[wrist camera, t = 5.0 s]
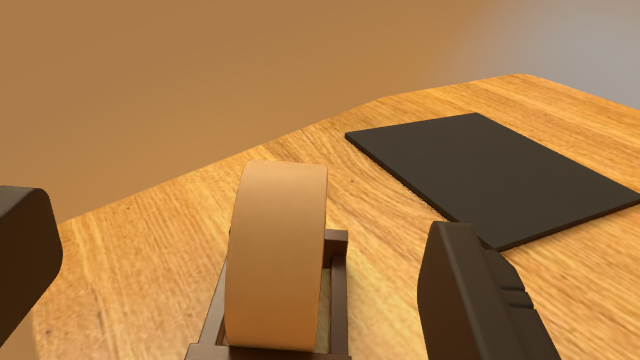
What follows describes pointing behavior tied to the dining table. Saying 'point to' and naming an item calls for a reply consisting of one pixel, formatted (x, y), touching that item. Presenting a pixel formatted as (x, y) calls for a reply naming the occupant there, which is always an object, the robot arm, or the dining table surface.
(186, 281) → the dining table surface
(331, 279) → the holder
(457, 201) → the mat
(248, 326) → the tape roll
